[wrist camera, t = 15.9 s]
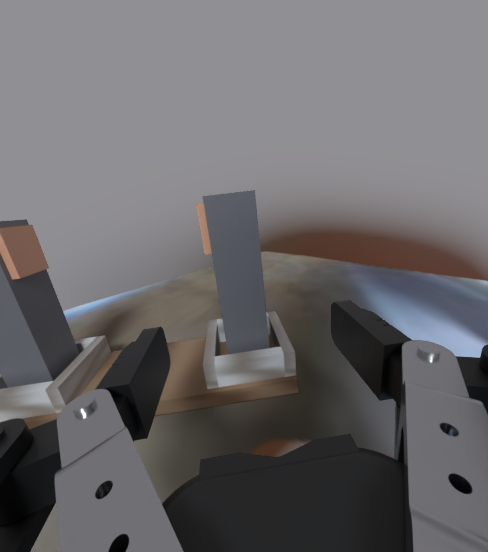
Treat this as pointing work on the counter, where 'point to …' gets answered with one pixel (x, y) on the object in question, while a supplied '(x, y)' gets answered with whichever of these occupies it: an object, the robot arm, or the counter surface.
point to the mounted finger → (29, 312)
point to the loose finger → (236, 267)
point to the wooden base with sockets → (181, 379)
